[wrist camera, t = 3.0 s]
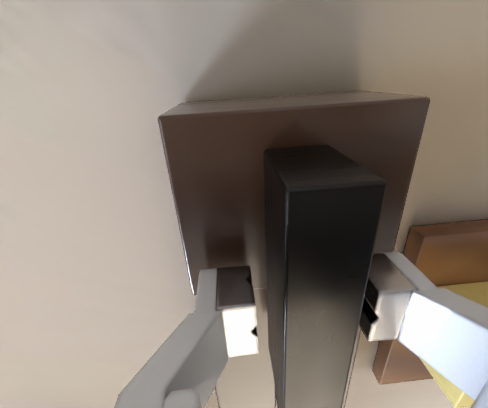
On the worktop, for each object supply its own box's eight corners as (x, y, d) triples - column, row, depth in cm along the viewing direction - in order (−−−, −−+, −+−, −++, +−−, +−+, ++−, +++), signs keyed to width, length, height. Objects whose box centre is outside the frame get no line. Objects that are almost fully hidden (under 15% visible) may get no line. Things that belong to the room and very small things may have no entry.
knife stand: (179, 102, 10) (156, 116, 6) (361, 90, 10) (432, 96, 7) (224, 386, 18) (225, 459, 14) (323, 375, 18) (346, 444, 15)
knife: (251, 128, 10) (286, 189, 4) (299, 125, 10) (390, 181, 4) (263, 386, 17) (280, 524, 12) (290, 383, 17) (319, 519, 12)
